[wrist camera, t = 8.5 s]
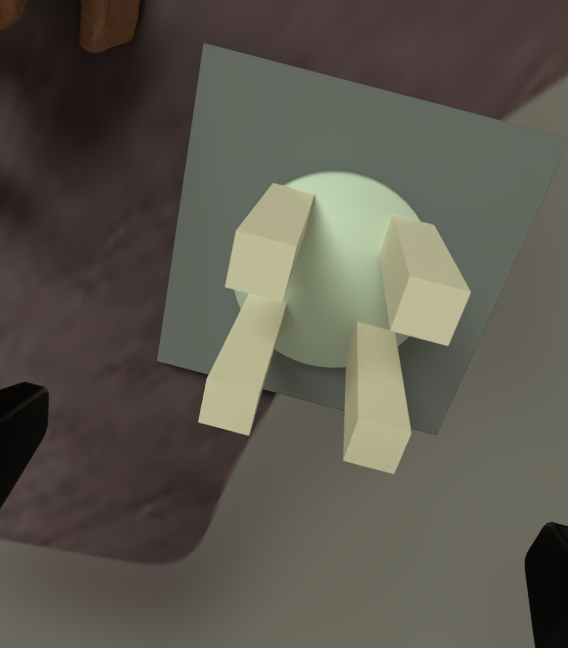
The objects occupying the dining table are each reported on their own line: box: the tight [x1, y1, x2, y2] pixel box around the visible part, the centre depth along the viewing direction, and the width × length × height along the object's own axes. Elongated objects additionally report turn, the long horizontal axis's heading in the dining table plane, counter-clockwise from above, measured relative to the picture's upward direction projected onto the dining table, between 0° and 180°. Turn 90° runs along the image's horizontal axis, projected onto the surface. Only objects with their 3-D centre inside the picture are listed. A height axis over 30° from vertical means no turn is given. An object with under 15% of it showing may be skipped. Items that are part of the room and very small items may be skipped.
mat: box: [157, 43, 568, 435], centre depth 20 cm, size 12×12×1 cm
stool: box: [198, 170, 471, 474], centre depth 16 cm, size 7×7×7 cm
